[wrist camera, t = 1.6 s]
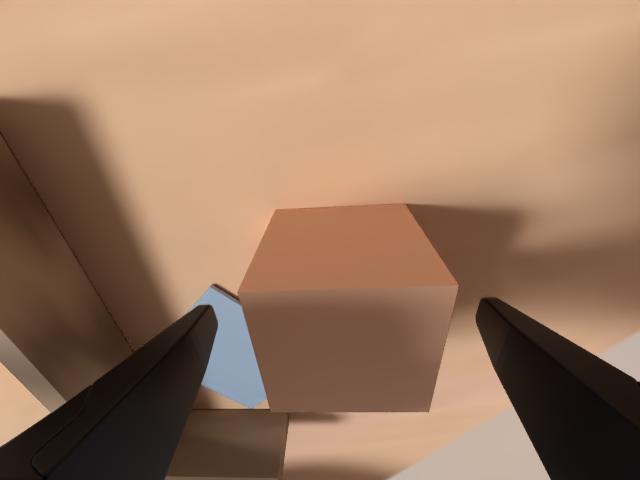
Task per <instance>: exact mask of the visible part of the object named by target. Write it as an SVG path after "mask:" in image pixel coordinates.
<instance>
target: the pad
mask: <svg viewBox="0 0 640 480" xmlns="http://www.w3.org/2000/svg"><path fill="white" fill-rule="evenodd" d="M204 304H210V305H212V306H213V309H214V312H215V315H216V317H217V320H218V329H217V333H216V337H215V340H214V344H213V348H212V352H211V355H210V359H209V363H208V366H207V370H206V372H205V375H204V378H203V381H202V383H201V385H202V386H204V387H207V388H209V389H211V390H213V391H215V392H217V393H219V394H221V395H223V396H225V397H227V398H229V399H231V400H234V401H236V402H238V403H240V404H242V405H244V406H246V407H248V408H250V409H252V408H254V407H255V406H257V405H258V404H259V403H261V402H262V401H264V400H265V399H266V398H267V397H266V393H265V389H264V386H263V382H262V379H261V375H260V371H259V368H258V364H257V361H256V357H255V353H254V350H253V346H252V343H251V339H250V335H249V332H248V328H247V325H246V321H245V317H244V314H243V310H242V307H241V303H240V301H238V300H236V299H235V298H233V297H232V296H230V295H228V294H227V293H225V292H223V291H222V290H220V289H219V288H217V287H215V286H214V285H211V286H210V287H209V289H208V290H207V291H206V292H205V293H204V294H203V296H202V297H201V298H200V299H199V300H198V301H197V302H196V304H195V305H194V306H193V307H192V308H191V309H190V311H191V310H192V309H194V308H195V307H197V306H198V305H204ZM190 311H189V312H190Z"/></svg>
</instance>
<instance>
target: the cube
mask: <svg viewBox="0 0 640 480" xmlns="http://www.w3.org/2000/svg"><path fill="white" fill-rule="evenodd" d="M458 287H459V285H458V283H457V282H456V280H455V279H454V277H453V276H452V274H451V273H450V271H449V270H448V268H447V267H446V265H445V264H444V262H443V261H442V259H441V258H440V256H439V255H438V253H437V252H436V250H435V249H434V247H433V246H432V244H431V242H430V241H429V239H428V238H427V236H426V235H425V233H424V232H423V230H422V229H421V227H420V226H419V224H418V223H417V221H416V220H415V218H414V217H413V215H412V214H411V212H410V211H409V209H408V208H407V206H406V205H405V203H404V204H384V205H363V206H342V207H321V208H300V209H280V210H275V212H274V214H273V216H272V218H271V220H270V223H269V225H268V227H267V229H266V231H265V233H264V236H263V238H262V240H261V242H260V244H259V246H258V249H257V251H256V253H255V255H254V257H253V259H252V262H251V264H250V266H249V268H248V270H247V272H246V275H245V277H244V279H243V281H242V283H241V285H240V288H239V290H238V296H239V299H240V303H241V307H242V310H243V314H244V317H245V321H246V325H247V328H248V332H249V335H250V339H251V343H252V346H253V350H254V353H255V357H256V361H257V364H258V368H259V371H260V375H261V379H262V382H263V386H264V389H265V393H266V397H267V400H268V404H269V407H270V411H271V412H429V410H430V406H431V401H432V397H433V393H434V389H435V384H436V380H437V376H438V372H439V368H440V363H441V359H442V355H443V351H444V346H445V342H446V338H447V334H448V330H449V325H450V321H451V317H452V313H453V308H454V304H455V300H456V296H457V292H458Z"/></svg>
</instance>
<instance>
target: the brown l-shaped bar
mask: <svg viewBox="0 0 640 480" xmlns="http://www.w3.org/2000/svg"><path fill="white" fill-rule="evenodd" d="M131 354H133V351H132V350H131V348H130V346H129V345H128V343H127V341H126V340H125V338H124V336H123V335H122V333H121V331H120V330H119V328H118V327H117V325H116V323H115V322H114V320H113V318H112V317H111V315H110V313H109V312H108V310H107V308H106V307H105V305H104V304H103V302H102V300H101V299H100V297H99V295H98V294H97V292H96V290H95V289H94V287H93V285H92V284H91V282H90V280H89V279H88V277H87V276H86V274H85V272H84V271H83V269H82V267H81V266H80V264H79V262H78V261H77V259H76V257H75V256H74V254H73V253H72V251H71V249H70V248H69V246H68V244H67V243H66V241H65V239H64V238H63V236H62V234H61V233H60V231H59V229H58V228H57V226H56V225H55V223H54V221H53V220H52V218H51V216H50V215H49V213H48V211H47V210H46V208H45V206H44V205H43V203H42V202H41V200H40V198H39V197H38V195H37V193H36V192H35V190H34V188H33V187H32V185H31V183H30V182H29V180H28V178H27V177H26V175H25V174H24V172H23V170H22V169H21V167H20V165H19V164H18V162H17V160H16V159H15V157H14V155H13V154H12V152H11V150H10V149H9V147H8V146H7V144H6V142H5V141H4V139H3V137H2V136H1V134H0V362H1V363H2V364H3V365H4V366H5V367H6V368H7V369H8V370H9V371H10V372H11V373H12V374H13V375H14V376H15V377H16V378H17V379H18V380H19V381H20V382H21V383H22V384H23V385H24V386H25V387H26V388H27V389H28V390H29V391H30V392H31V393H32V394H33V395H34V396H35V397H36V398H37V399H38V400H39V401H40V402H41V403H42V404H43V405H44V406H45V407H46V408H47V409H48V410H49V411H50V412H51V413H52V412H53V411H55V410H56V409H57V408H59V407H60V406H62V405H63V404H64V403H66V402H67V401H69V400H70V399H71V398H73V397H74V396H76V395H77V394H78V393H80V392H81V391H82V390H84V389H85V388H86V387H88V386H89V385H92V384H93V382H95V381H96V380H97V379H99V378H100V377H101V376H103V375H104V374H106V373H107V372H108V371H110V370H111V369H112V368H114V367H115V366H116V365H118V364H119V363H120V362H122V361H123V360H125V359H126V358H127V357H129V356H130V355H131ZM288 425H289V417H288V412H271V411H270V410H191V412H190V415H189V417H188V420H187V422H186V425H185V428H184V430H183V433H182V435H181V438H180V441H179V443H178V446H177V448H176V451H175V454H174V456H173V459H172V461H171V464H170V467H169V469H168V472H167V474H166V477H165V480H282V473H283V465H284V457H285V449H286V441H287V433H288Z"/></svg>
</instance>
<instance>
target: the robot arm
mask: <svg viewBox="0 0 640 480" xmlns="http://www.w3.org/2000/svg"><path fill="white" fill-rule="evenodd" d="M476 324H477V326H478V329H479V332H480V334H481V337H482V339H483V342H484V344H485V347H486V350H487V352H488V355H489V357H490V360H491V362H492V365H493V367H494V369H495V371H496V373H497V375H498V377H499V379H500V381H501V383H502V385H503V387H504V389H505V391H506V393H507V395H508V397H509V399H510V401H511V403H512V405H513V407H514V408H515V411H516V412H517V414H518V416H519V418H520V420H521V422H522V424H523V426H524V428H525V430H526V432H527V434H528V436H529V438H530V440H531V442H532V444H533V446H534V448H535V450H536V451H537V453H538V455H539V457H540V459H541V461H542V463H543V465H544V467H545V469H546V471H547V473H548V475H549V477H550V479H551V480H640V382H637V381H636V380H635V379H634V378H633V377H631V376H629V375H627V374H626V373H624V372H622V371H621V370H619V369H617V368H616V367H614V366H612V365H610V364H609V363H607V362H605V361H603V360H602V359H600V358H599V357H597V356H595V355H593V354H592V353H590V352H588V351H587V350H585V349H583V348H582V347H580V346H578V345H576V344H575V343H573V342H571V341H570V340H568V339H566V338H564V337H563V336H561V335H559V334H558V333H556V332H554V331H553V330H551V329H549V328H547V327H546V326H544V325H542V324H541V323H539V322H537V321H536V320H534V319H532V318H530V317H529V316H527V315H525V314H524V313H522V312H520V311H518V310H517V309H515V308H513V307H512V306H510V305H508V304H507V303H505V302H503V301H501V300H500V299H498V298H495V297H484V298H482V299H481V300H480V303H479V306H478V310H477V313H476ZM217 329H218V320H217V317H216V315H215V312H214V309H213V306H212V305H210V304H204V305H198V306H197V307H195V308H194V309H192V310H191V311H190V312H188V313H187V314H186V315H184V316H183V317H182V318H180V319H179V320H178V321H176V322H175V323H173V324H172V325H171V326H169V327H168V328H167V329H165V330H164V331H163V332H161V333H160V334H159V335H157V336H156V337H154V338H153V339H152V340H150V341H149V342H148V343H146V344H145V345H144V346H142V347H141V348H140V349H138V350H137V351H135V352H134V353H133V354H131V355H130V356H129V357H127V358H126V359H125V360H123V361H122V362H120V363H119V364H118V365H116V366H115V367H114V368H112V369H111V370H110V371H108V372H107V373H106V374H104V375H103V376H101V377H100V378H99V379H97V380H96V381H95V382H93V384H92V385H89V386H88V387H86V388H85V389H84V390H82V391H81V392H80V393H78V394H77V395H76V396H74V397H73V398H71V399H70V400H69V401H67V402H66V403H64V404H63V405H62V406H60V407H59V408H57V409H56V410H55V411H53V412H52V413H50V414H49V415H47V416H46V417H44V418H43V419H42V420H40V421H39V422H37V423H36V424H34V425H33V426H31V427H30V428H28V429H27V430H25V431H24V432H22V433H21V434H19V435H18V436H16V437H15V438H13V439H12V440H10V441H9V442H7V443H6V444H4V445H3V446H1V447H0V480H165V477H166V474H167V472H168V469H169V467H170V464H171V461H172V459H173V456H174V454H175V451H176V448H177V446H178V443H179V441H180V438H181V435H182V433H183V430H184V428H185V425H186V422H187V420H188V417H189V415H190V412H191V409H192V407H193V404H194V402H195V399H196V396H197V394H198V391H199V388H200V386H201V383H202V381H203V378H204V375H205V372H206V370H207V366H208V363H209V359H210V355H211V352H212V348H213V344H214V340H215V337H216V333H217Z"/></svg>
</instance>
